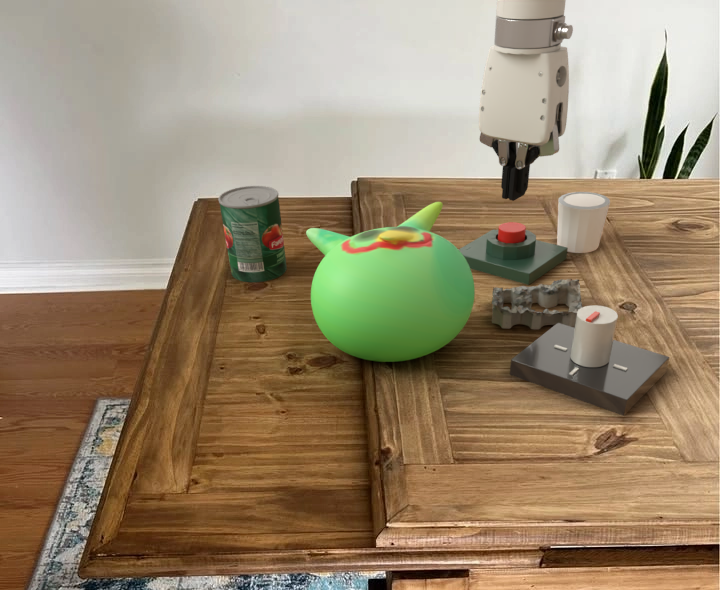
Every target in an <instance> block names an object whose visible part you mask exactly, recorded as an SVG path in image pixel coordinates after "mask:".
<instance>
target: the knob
mask: <svg viewBox="0 0 720 590" xmlns="http://www.w3.org/2000/svg"><path fill="white" fill-rule="evenodd" d="M618 319H619V315H618V312H617V311H615V310H614V309H613V308H611V307H608V306H605V305H598V304H597V305H592V304H591V305H586V306H582V308H580V309H579V310H578V311H577V315H576V322H575V326H574V335H573V341H572V348H571V354H570V357H571V359H572V361H573V362H575V363H576V364H578V365H581V366H584V367H601V366H604V365H606V364H607V363H608V362H609V360H610V356H611V350H612V345H613V340H615V336H616V335H615V334H616V329H617V325H618V324H617V323H618Z"/></svg>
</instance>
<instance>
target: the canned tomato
mask: <svg viewBox="0 0 720 590" xmlns="http://www.w3.org/2000/svg"><path fill="white" fill-rule="evenodd" d="M217 199H218V203H219V208H220V215H221V221H222V227H223V232H224V238H225V244H226V249H227V255H228V262H229V267H230V272H231V273H230V274H231V276H232V278H233V279H235V280H237V281H240V282H245V283H264V282H269V281H272V280H275V279H278V278H280V277H281V276H283V275H284V274H285V273H286V271H287V270H288V269H287V268H288V267H287V257H286V250H285V240H284V233H283V223H282V216H281V209H280V208H281V206H280V200H279V199H280V198H279V191H278V190H276V189H275V188H273V187H270V186H266V185H245V186H240V187H234V188H232V189H229V190H226V191H224V192H223V193H221V194H220V195H219V196H218V198H217Z"/></svg>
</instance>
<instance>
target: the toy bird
mask: <svg viewBox="0 0 720 590" xmlns="http://www.w3.org/2000/svg"><path fill="white" fill-rule="evenodd" d="M443 205H444V203H443V202H441V201H435V202H432V203H430V204H428V205H427V206H425V207H424V208H422V209H420V210H419V211H417V212H416V213H414V214H413V215H412V216H410V217H409V218H408V219H406V220H405V221H403V222H402V223H400V224H398V225H397V226H387V227H385V226H384V227H379V228H374V229H369V230H366V231H362V232H360V233H357V234H354V235H351V236H349V235H345V234H342V233H338V232H335V231H332V230H327V229H324V228H319V227H310V228H308V229H307V230H306V232H305V234H306V236H307V238H308V240H309V241H310V242H311V243H312V244H313V246H315V247H316V248H317V249H318V250H319V251H320V252H321V254H322V255H324V257H323V258H322V259H321V260H320V263H319V264H318V266H317V268H316V270H315V272H314V275H313V277H312V282H311V286H310V287H311V288H310V304H311V310H312V314H313V318H314V320H315V322H316V325H317V326H318V328H319V330H320V332H321V333H322V334H323V336H324V337H325V338H326V340H328V341H329V342H330V343H331V345H333V346H334V347H335V348H338V350H340V351H342V352H344V353H346V354H347V355H350V356H352V357H355V358H357V359H362V360H365V361H371V362H372V361H373V362H378V363H379V362H380V363H395V362H405V361H411V360H415V359H418V358H421V357H424V356H427V355H430V354H432V353H435V352H436V351H438V350H440V349H442V348H444V347H445V346H446V345H448V344H450V343H451V342H452V341H453V340H454V339H455V338H456V337H457V336H458V335H459V334H460V333H461V331H463V329H464V327H465V326H466V324H467V322H469V321H468V320H469V319H470V317H471V313H472V311H473V308H474V304H475V294H476V293H475V292H476V291H475V289H476V287H475V281H474V276H473V272H472V269H471V268H470V267H469V265H468V263H467V261H466V259H465V257H464V256H463V254H462V253H461V252H460V251H459V250H458V249H459V248H457V246H455V244H453V243H452V242H451V241H449V240H448V239H447V238H445V237H443V236H441V235H439V234H437V233H434V232H432V231H431V230H432V228H433V226H434V225H435V223H436V221H437V219H438V218H439V216H440V214H441V212H442V209H443V207H444V206H443Z"/></svg>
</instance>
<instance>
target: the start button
mask: <svg viewBox="0 0 720 590" xmlns="http://www.w3.org/2000/svg"><path fill="white" fill-rule="evenodd" d="M497 230H498V241H500V242H504V243H519V242H523V241H524V240H525V233H526V230H527V227H526V225H525V224H523V223H521V222H515V221H512V222H511V221H507V222H504V223H501V224H499V225H498V229H497Z"/></svg>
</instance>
